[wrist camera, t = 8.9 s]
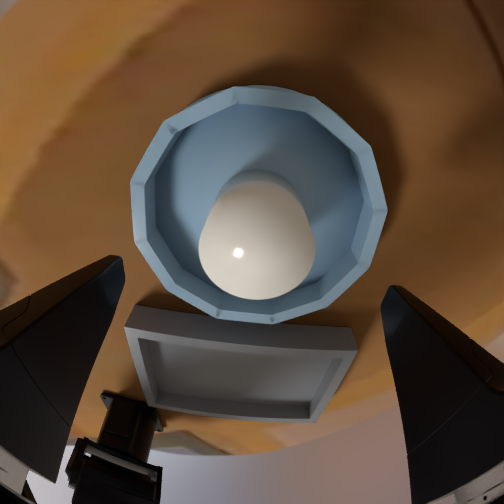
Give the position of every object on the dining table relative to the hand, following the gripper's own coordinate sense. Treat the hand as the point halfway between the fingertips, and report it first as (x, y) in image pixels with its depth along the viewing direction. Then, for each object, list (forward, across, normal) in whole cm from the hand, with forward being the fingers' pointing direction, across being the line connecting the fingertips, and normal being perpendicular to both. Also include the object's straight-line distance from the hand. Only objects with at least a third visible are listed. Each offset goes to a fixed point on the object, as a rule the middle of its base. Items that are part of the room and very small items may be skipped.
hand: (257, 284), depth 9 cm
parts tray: (+7, 0, +13) cm, 15 cm away
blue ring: (+7, 0, 0) cm, 7 cm away
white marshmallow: (+6, 0, 0) cm, 6 cm away
